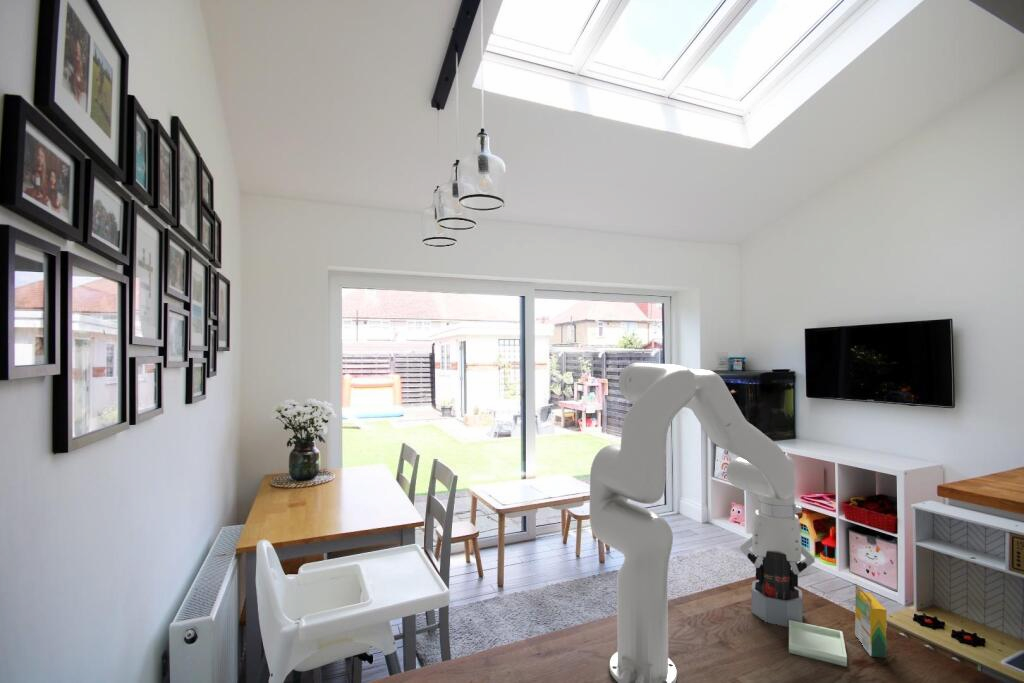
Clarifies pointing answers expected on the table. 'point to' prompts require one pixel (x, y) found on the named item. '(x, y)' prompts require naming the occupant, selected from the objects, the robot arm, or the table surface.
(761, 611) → the grey octagonal container
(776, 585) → the deodorant
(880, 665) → the table surface
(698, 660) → the table surface
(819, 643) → the tray
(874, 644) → the crayon box
